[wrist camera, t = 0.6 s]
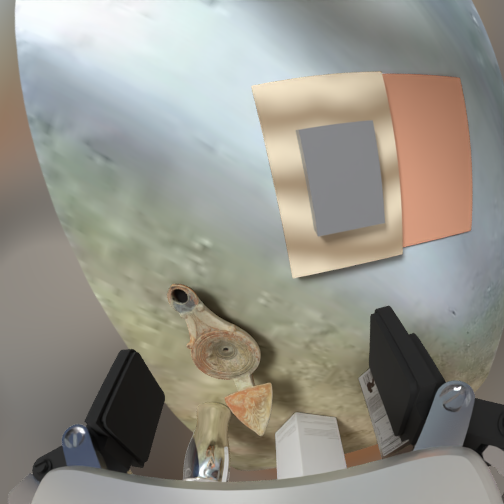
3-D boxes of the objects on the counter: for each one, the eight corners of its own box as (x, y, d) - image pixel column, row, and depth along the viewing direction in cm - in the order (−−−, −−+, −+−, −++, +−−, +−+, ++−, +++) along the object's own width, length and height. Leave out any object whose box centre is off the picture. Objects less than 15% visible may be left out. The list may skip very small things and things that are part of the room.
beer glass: (186, 403, 43) (171, 477, 29) (222, 396, 42) (213, 477, 28) (207, 423, 46) (197, 492, 32) (240, 417, 44) (237, 490, 31)
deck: (251, 89, 25) (251, 85, 23) (373, 74, 23) (381, 71, 21) (291, 269, 32) (292, 278, 31) (395, 247, 31) (402, 254, 29)
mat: (377, 74, 23) (378, 73, 23) (458, 78, 22) (459, 77, 22) (398, 246, 31) (399, 248, 31) (469, 229, 30) (471, 230, 29)
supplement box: (273, 433, 47) (275, 499, 33) (295, 410, 44) (302, 485, 30) (313, 438, 48) (321, 500, 34) (337, 416, 45) (351, 484, 31)
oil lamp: (236, 389, 41) (233, 442, 32) (151, 286, 34) (122, 337, 25) (287, 373, 39) (293, 428, 30) (209, 257, 32) (192, 308, 23)
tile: (295, 130, 24) (298, 129, 23) (365, 120, 24) (372, 120, 22) (313, 229, 28) (317, 236, 26) (377, 217, 28) (385, 223, 26)
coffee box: (414, 367, 40) (450, 440, 25) (388, 390, 42) (415, 463, 27) (384, 352, 38) (421, 437, 23) (356, 378, 40) (381, 463, 25)
